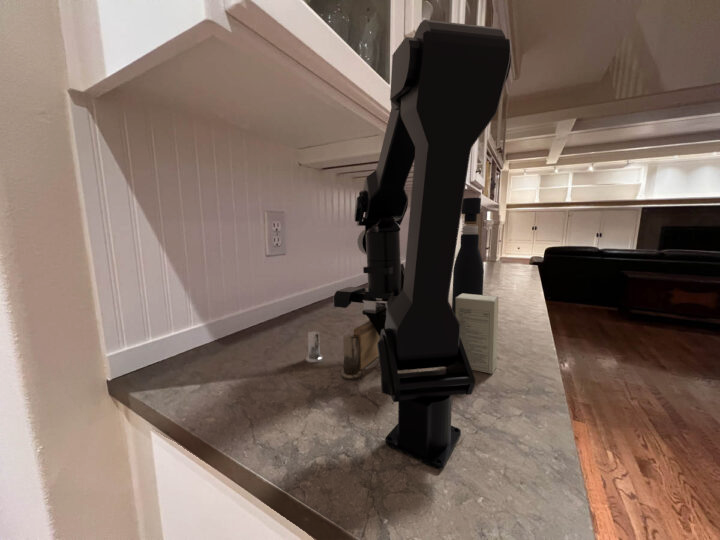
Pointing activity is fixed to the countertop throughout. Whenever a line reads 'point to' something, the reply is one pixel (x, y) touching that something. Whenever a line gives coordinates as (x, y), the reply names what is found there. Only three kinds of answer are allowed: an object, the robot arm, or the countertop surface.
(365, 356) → the gate
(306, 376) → the countertop surface
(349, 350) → the hinge post
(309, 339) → the post
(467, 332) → the skincare box
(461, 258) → the wine bottle
